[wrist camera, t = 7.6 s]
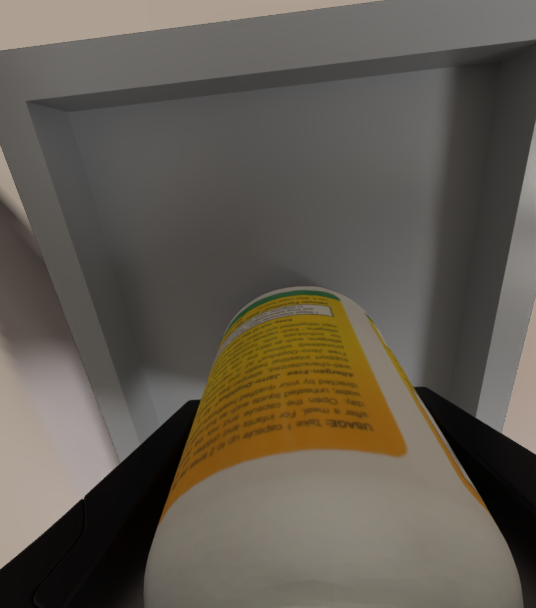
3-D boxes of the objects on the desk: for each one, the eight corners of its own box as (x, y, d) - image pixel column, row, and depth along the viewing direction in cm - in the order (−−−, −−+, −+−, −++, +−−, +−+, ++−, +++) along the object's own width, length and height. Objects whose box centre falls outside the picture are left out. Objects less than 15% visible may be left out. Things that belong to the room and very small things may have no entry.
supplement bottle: (412, 333, 11) (1100, 1186, 2) (317, 437, 12) (414, 1101, 4) (273, 247, 10) (223, 1219, 1) (193, 373, 11) (-95, 1075, 3)
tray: (447, 481, 16) (476, 535, 14) (169, 493, 17) (152, 546, 14) (527, 21, 9) (616, -31, 7) (40, 81, 10) (-34, 55, 7)
